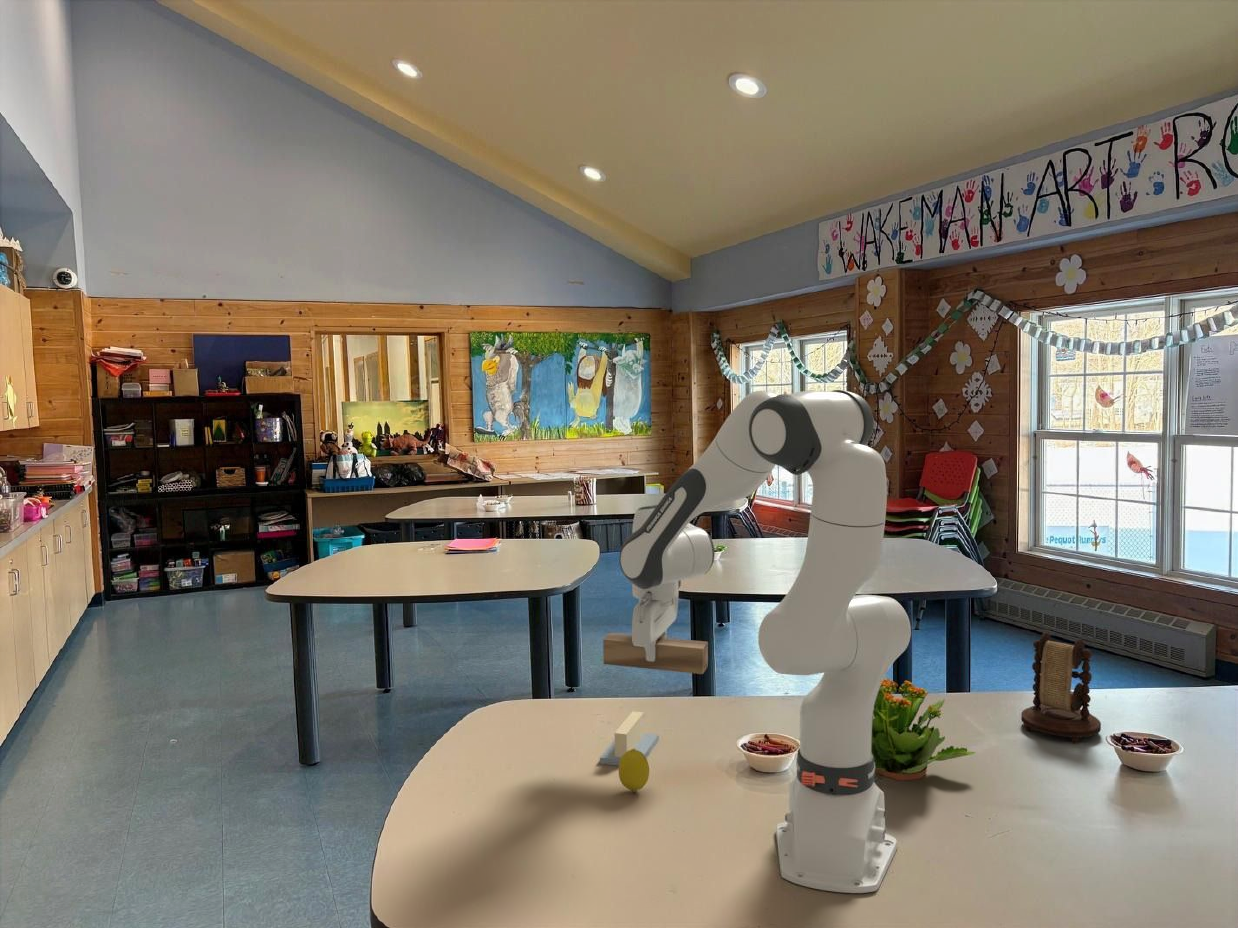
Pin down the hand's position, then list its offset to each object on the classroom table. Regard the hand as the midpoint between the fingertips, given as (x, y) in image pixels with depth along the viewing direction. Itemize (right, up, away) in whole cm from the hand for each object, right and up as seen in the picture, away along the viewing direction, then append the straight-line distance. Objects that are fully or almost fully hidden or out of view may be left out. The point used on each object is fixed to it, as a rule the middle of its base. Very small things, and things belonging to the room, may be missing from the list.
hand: (655, 655), depth 176 cm
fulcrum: (-5, -20, +4) cm, 21 cm away
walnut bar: (0, -2, 0) cm, 2 cm away
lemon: (-4, -22, -14) cm, 26 cm away
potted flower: (+46, -20, -8) cm, 51 cm away
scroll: (+84, -18, +10) cm, 87 cm away
